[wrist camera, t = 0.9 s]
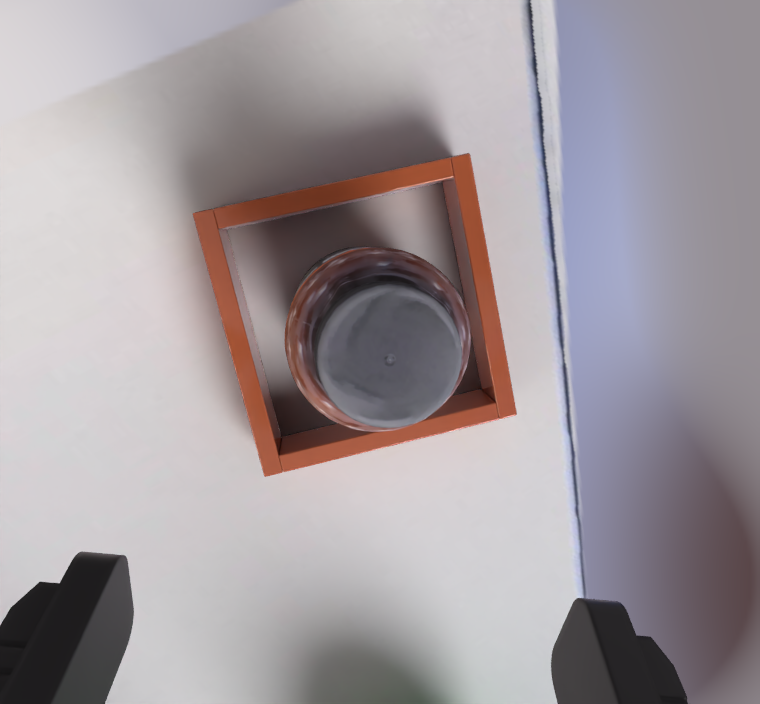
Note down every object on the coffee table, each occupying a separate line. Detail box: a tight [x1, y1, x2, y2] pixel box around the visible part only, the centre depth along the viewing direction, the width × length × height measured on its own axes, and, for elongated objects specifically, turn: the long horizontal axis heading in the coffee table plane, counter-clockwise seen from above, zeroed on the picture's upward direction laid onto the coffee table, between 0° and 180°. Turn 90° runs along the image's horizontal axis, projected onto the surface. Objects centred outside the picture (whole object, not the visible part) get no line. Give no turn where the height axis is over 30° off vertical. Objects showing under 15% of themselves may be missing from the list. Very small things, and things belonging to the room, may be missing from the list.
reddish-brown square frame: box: [193, 153, 517, 477], centre depth 26 cm, size 11×11×2 cm
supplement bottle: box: [285, 247, 471, 432], centre depth 22 cm, size 6×6×11 cm
